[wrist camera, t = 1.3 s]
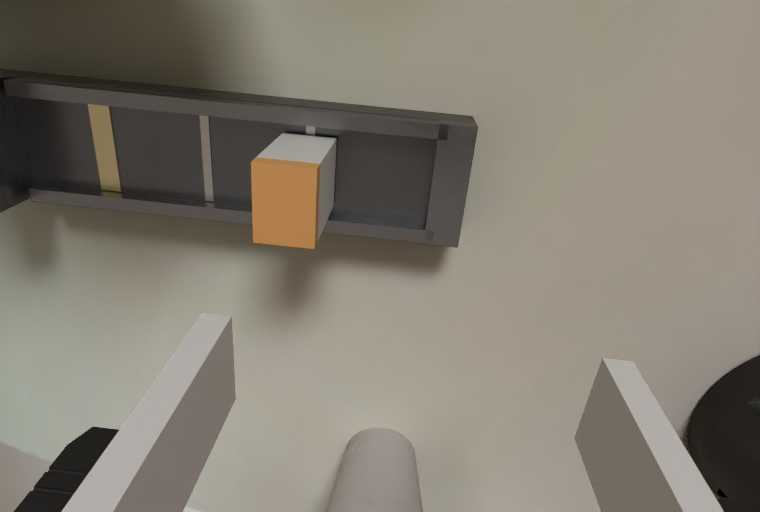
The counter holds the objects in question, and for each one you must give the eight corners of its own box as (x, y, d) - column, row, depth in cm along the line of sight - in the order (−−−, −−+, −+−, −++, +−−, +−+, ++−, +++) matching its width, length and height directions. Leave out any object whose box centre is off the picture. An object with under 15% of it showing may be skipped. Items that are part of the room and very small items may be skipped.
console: (454, 227, 32) (461, 271, 27) (25, 182, 33) (-51, 216, 28) (472, 116, 29) (484, 140, 24) (-1, 69, 30) (-93, 82, 25)
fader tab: (333, 205, 30) (314, 249, 25) (282, 200, 30) (253, 242, 25) (336, 138, 28) (317, 168, 23) (282, 132, 28) (250, 161, 23)
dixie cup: (309, 451, 42) (278, 572, 33) (378, 397, 39) (366, 514, 30) (382, 503, 44) (372, 630, 35) (453, 456, 41) (462, 581, 32)
